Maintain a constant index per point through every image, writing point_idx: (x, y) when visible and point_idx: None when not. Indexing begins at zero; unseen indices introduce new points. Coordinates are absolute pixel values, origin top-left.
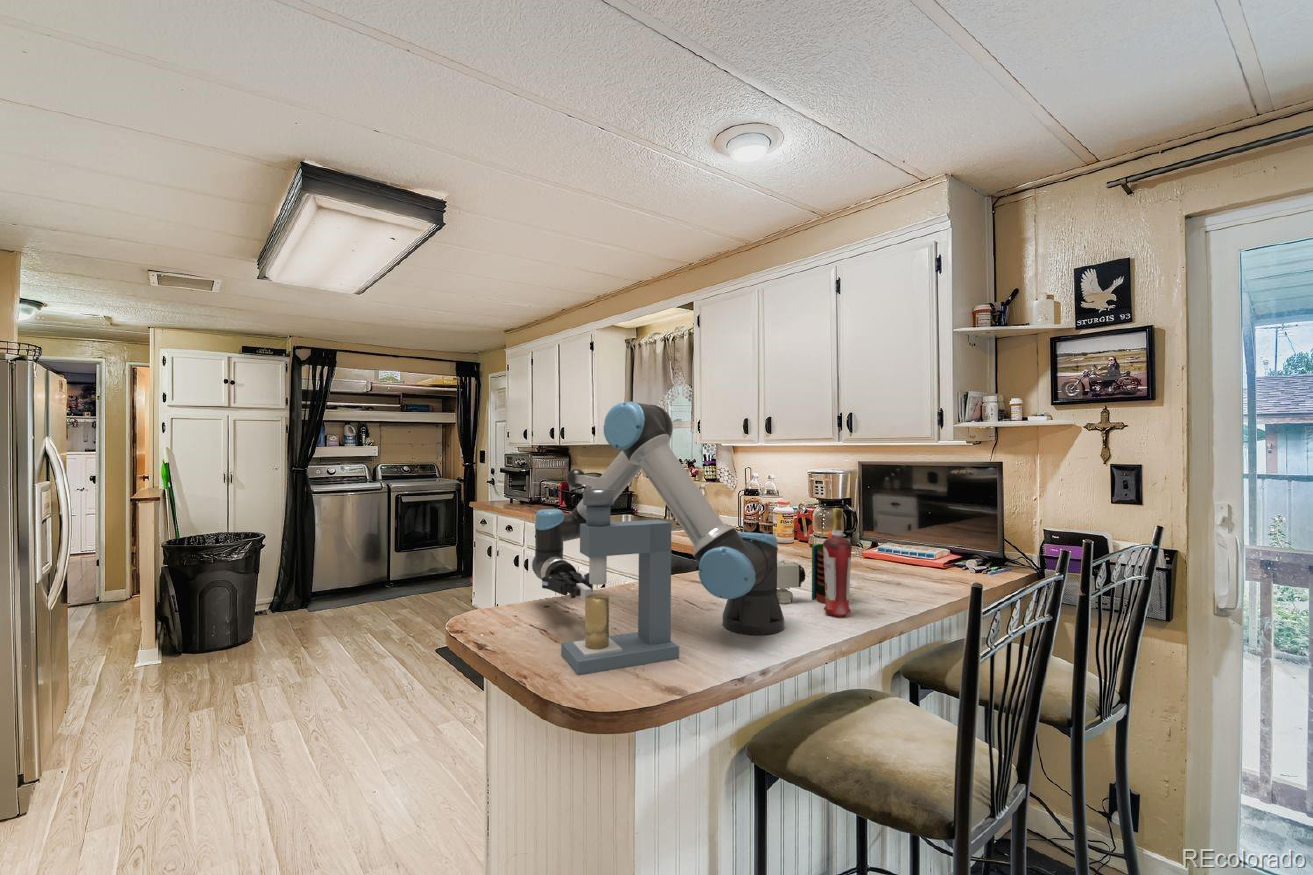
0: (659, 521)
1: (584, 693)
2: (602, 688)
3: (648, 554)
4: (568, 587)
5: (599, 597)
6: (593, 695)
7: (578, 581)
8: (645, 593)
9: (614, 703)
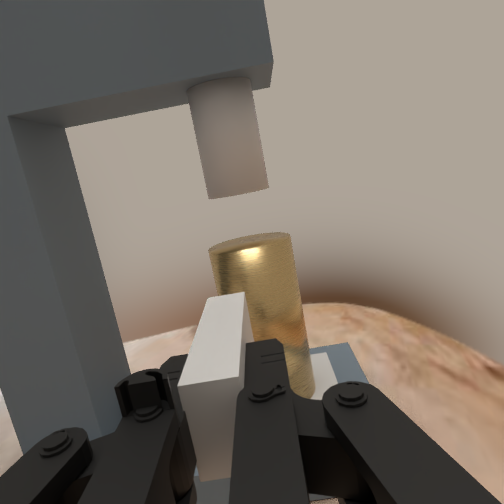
0: None
1: (345, 327)
2: (311, 336)
3: (61, 135)
4: (319, 407)
5: (244, 242)
6: (331, 324)
7: (152, 489)
8: (87, 270)
9: (305, 312)
